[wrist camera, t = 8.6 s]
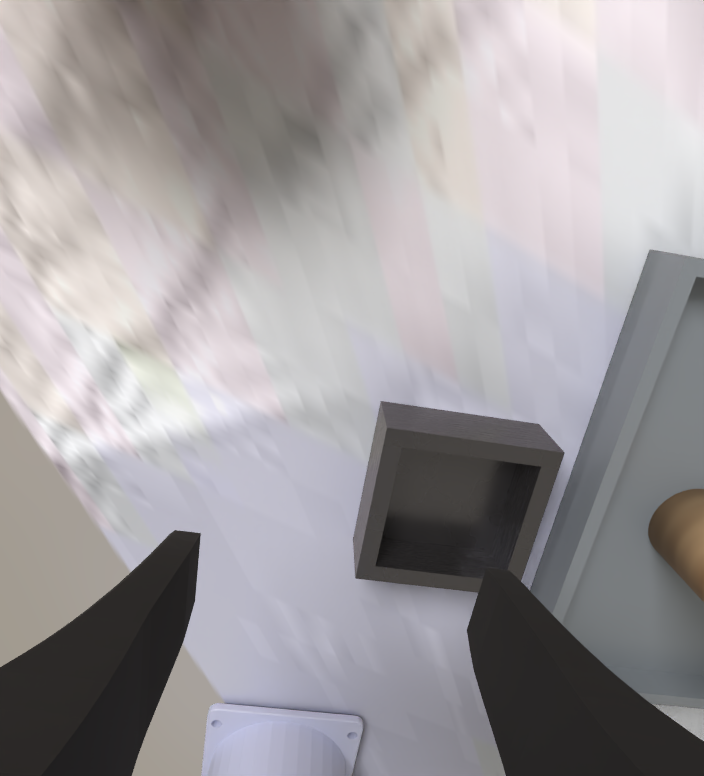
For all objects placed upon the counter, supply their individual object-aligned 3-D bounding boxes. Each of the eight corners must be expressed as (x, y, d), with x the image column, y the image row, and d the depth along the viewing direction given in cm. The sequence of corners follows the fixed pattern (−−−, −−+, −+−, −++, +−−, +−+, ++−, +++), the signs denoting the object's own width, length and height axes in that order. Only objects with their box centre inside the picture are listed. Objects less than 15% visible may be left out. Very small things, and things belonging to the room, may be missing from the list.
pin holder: (497, 556, 24) (515, 596, 22) (353, 539, 24) (355, 578, 21) (538, 424, 22) (564, 452, 20) (380, 401, 22) (386, 427, 19)
